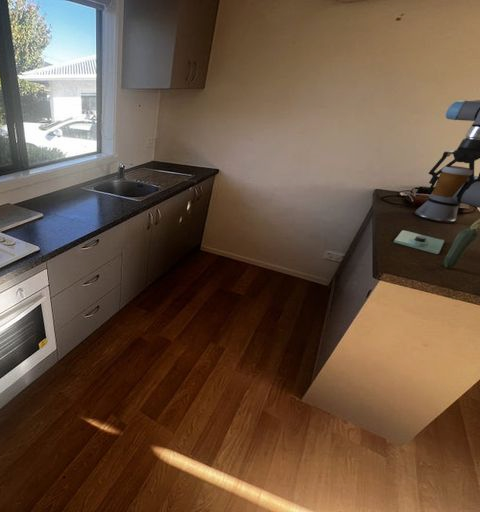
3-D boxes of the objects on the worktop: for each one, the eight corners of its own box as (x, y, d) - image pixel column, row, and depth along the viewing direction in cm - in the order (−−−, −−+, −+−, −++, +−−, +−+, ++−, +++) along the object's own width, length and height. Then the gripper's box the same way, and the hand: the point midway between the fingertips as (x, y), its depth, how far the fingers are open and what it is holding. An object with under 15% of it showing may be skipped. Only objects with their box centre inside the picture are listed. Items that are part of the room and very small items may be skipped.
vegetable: (449, 271, 108) (486, 221, 98) (434, 265, 111) (468, 217, 101) (455, 269, 109) (491, 220, 99) (439, 263, 113) (473, 215, 103)
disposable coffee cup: (464, 199, 123) (483, 171, 117) (437, 197, 125) (455, 169, 119) (445, 193, 131) (462, 166, 125) (421, 191, 133) (437, 164, 127)
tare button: (414, 238, 126) (417, 235, 125) (424, 241, 124) (426, 237, 123) (413, 240, 124) (416, 237, 123) (423, 243, 122) (425, 239, 121)
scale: (401, 232, 139) (404, 226, 137) (442, 242, 129) (447, 236, 128) (393, 242, 128) (396, 236, 127) (437, 254, 119) (442, 248, 118)
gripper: (439, 136, 121) (409, 189, 133) (519, 142, 107) (478, 201, 118) (442, 135, 125) (412, 186, 137) (519, 141, 111) (479, 198, 122)
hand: (442, 193), depth 127 cm, fingers closed on disposable coffee cup, 8 cm apart
